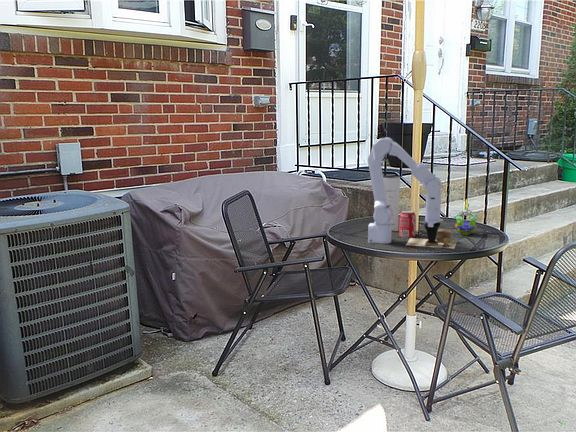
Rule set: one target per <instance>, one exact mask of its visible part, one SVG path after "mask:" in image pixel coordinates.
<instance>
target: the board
mask: <svg viewBox="0 0 576 432" xmlns="http://www.w3.org/2000/svg"><path fill="white" fill-rule="evenodd" d="M457 242H458V240H451V241H450V243H449V238H444V243H439V242H438V241H437V239H435V243H429V241H428V238H418V237H416V238H415V237H409V239H408V241H407V243H405V246H408V247H409V246H411V247H412V246H414V247H415V246H416V247H423V248H425V247H427V248H438V249H439V248H441V249H452V250H453V249H455V248H456V245H457Z"/></svg>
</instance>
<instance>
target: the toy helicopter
mask: <svg viewBox="0 0 576 432" xmlns="http://www.w3.org/2000/svg"><path fill="white" fill-rule="evenodd" d="M464 207H465V209H464V210H461V211H458V213H456V217H455V219H456V224H455V225H454V228H455V229H457V231H456V232H457V233H461V236H470V234H474V233H475V230H477V229H478V228H477V225H476V222H477V219H478V218H477V214H476V213H475V212H473V211H472V210H469V207H470V203H469V200H468V198H466V199H465V203H464ZM464 216H468V221H466V220H465V219H464Z"/></svg>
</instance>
